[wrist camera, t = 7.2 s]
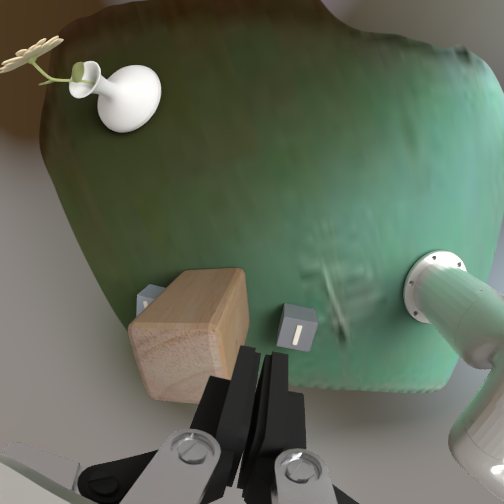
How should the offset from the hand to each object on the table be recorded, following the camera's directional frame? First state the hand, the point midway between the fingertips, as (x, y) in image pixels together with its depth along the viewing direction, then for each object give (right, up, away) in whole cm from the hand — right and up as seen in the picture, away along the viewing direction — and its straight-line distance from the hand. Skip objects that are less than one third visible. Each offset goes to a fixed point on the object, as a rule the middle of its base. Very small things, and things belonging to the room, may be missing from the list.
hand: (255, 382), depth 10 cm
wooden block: (-6, -2, +38) cm, 38 cm away
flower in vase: (-20, +29, +31) cm, 47 cm away
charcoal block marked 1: (+7, -6, +37) cm, 38 cm away
